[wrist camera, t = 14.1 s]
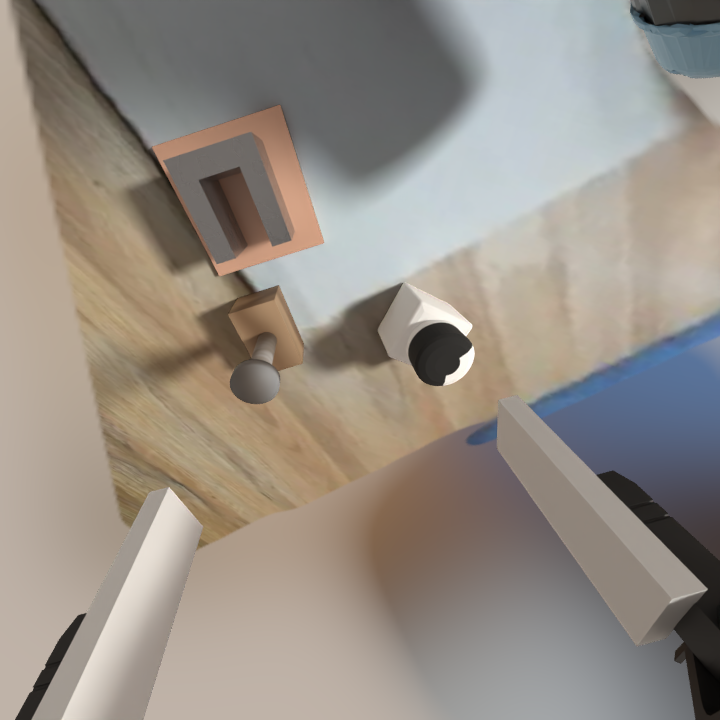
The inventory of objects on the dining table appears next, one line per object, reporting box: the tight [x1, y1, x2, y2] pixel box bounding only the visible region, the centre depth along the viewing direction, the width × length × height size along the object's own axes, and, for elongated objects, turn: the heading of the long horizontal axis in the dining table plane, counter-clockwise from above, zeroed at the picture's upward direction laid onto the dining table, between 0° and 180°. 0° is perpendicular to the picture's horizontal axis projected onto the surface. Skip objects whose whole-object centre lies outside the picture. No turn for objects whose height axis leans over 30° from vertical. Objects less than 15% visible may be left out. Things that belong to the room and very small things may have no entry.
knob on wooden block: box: [228, 285, 304, 404], centre depth 32 cm, size 5×8×14 cm, turn 16°
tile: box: [152, 105, 324, 276], centre depth 30 cm, size 12×12×1 cm
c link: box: [163, 132, 295, 264], centre depth 27 cm, size 8×7×6 cm
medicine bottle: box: [378, 283, 474, 386], centre depth 35 cm, size 7×7×12 cm
